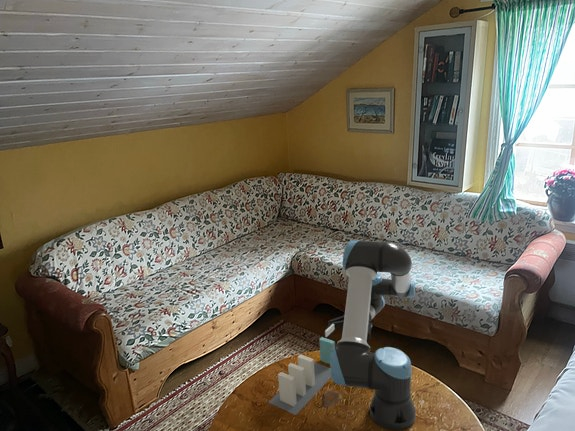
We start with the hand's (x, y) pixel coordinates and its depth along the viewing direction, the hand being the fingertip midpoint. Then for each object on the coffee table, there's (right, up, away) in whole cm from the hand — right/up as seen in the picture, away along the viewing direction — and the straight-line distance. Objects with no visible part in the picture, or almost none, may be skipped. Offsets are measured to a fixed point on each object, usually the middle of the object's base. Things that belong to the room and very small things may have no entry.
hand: (339, 338), depth 190 cm
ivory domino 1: (-21, -16, -26) cm, 37 cm away
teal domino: (-5, -9, -5) cm, 12 cm away
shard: (-5, -16, -26) cm, 31 cm away
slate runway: (-15, -14, -18) cm, 27 cm away
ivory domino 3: (-14, -12, -17) cm, 25 cm away
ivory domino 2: (-18, -14, -22) cm, 31 cm away
